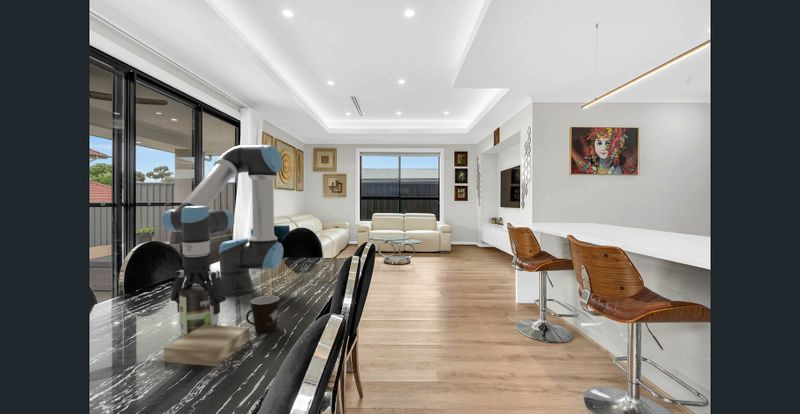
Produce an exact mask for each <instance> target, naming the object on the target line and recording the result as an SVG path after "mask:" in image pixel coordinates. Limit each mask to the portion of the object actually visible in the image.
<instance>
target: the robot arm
mask: <svg viewBox="0 0 800 414" xmlns="http://www.w3.org/2000/svg"><path fill="white" fill-rule="evenodd" d="M282 168H283V159H282V155H281V153H280V151H279V149H278V148H277V147H276V146H274V145H271V144H269V145H268V144H251V145H249V144H247V145H244V144H242V145H240V144H239V145H237V146H234V147H232V148H230V149H228V150H227V151H225V152H224V153H222V154H221V155H220V156H219V157H218V158H217V159H216V160H215V161H214V163H213V168H212V169H211V170H210V171H209V172H208V173H207V174H206V175H205V176H204V178H203V179H202V180H201V181H200V183H198V185H197V186H196V187H195V188H194V189H193V190H192V192H191V193H190V194H188V196H187V197H186V198H185V199H184V200H183V202H182V203H181V204H180V205H179V206H178V207H177V209H174V208H173V209H169V210H166V211H164V213H163V214H162V216H161V224H162V226H163V228H164V229H165V230H167V231H170V232H179V233H180V232H181V236H182V237H181V238H182V239H181V243H182V245H181V246H182V255H183V257H182V267H183V269H180V270H176V271H175V272H174V276H175V278H174V279H175V280H174V283H173V288H172V292H171V297H170V301H172V302H175V303H176V305H177V306H176V307H177V308H176V309H177V313H179V318H180V298H179V290H181V289H183V290H186V289H189V288H191V287H192V286H193V285H201V287H203V288H204V290H205V291H207V290H211V289H214V291H213V292H210V293H209V296H210V301H211V302H212V305H210V323H211V325H215V324H216V323H217V324H218V323H219V314H220V312H221V303H223V302H225V301H226V300H227V298H226V297H237V296H241V295H246V294H248V293H251V292H253V291H254V289H255V284H254V282H253V279H252V277H251V276H252V275H251V273H250V270H264V271H265V270H274V269H276V268H277V267H279V265H280V264H281V262H282V259H283V257H284V247H283V244H282V243H281V242H279V239H278V238H279V237H277V236H276V235H275V209H274V207H275V205H274V204H275V203H274V201H275V200H274V199H275V198H274V195H275V193H274V180H275V179H276V178H277V177H278V173H279V172H281V171H282ZM242 173H247V177H248V178H249V179H250V180H251V197H252V199H251V202H252V207H251V208H252V235H251V236H250V238H237V239H231V240H227V241H223V242H221V243H220V244H219V251H218V254H219V270H216V271H211V268H210V267H211V264H212V262H211V261H212V260H211V254H210V253H211V238H210V234H213V233H218V232H224V231H227V230H230V229H231V228H232V227H233V226H234V223H235V216H234V214H233V213H232V212H231V211H229V210H228V209H217V210H216V209H214V210H212V209H211V210H210V209H209V207H210V205H211V204H212V203H213V202H214V201H215V199H216V198H217V196H218V195H219V194H220V193H221V192H222V190H223V189H224V188H225V186H226V185H227V184H229V183H228V182H229V181H230V180H231V179H235V178H236V177H237V175H239V174H242ZM212 285H213V286H212Z"/></svg>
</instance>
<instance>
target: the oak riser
mask: <svg viewBox="0 0 800 414" xmlns="http://www.w3.org/2000/svg"><path fill="white" fill-rule="evenodd" d="M250 331H251V330H250V327H249V326H236V325H220V324H217V325H202V326H201V327H199V328H197V329H196V330H194V331H192V332H190V333H189V334H187V335H185V336H183V337H180V338H178V339H177V340H175V341H173V342H171V343H170V344H167V346H164V347H163V353H164V354H163V355H164V363H168V364H169V363H170V364H182V365H183V364H184V365H196V366H211V367H218V366H219V365H220V364H221V363H223V362H224V361H225V360H226V359H227V358H229V357H230V356H232V354H234V353H236V350H237V349H238V350H239V349H240V348H242V347H243V346H244V345H245V344H246V342H247V341H248V342H249V341H250V340H251V336H250V335H251V334H250ZM248 342H247V343H248ZM242 345H243V346H242ZM241 346H242V347H241ZM238 350H237V351H238Z"/></svg>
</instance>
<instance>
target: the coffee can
mask: <svg viewBox="0 0 800 414" xmlns="http://www.w3.org/2000/svg"><path fill="white" fill-rule="evenodd" d="M212 286H213V285H212ZM213 291H214V289H211V290H207V291H205V290H204V288H203V287H201V285H200V284H193V285H192V287H191V288H189V289H186V290H183V289H181V290H179V298H180V317H179V324H180V338H182V337H183V336H185V335H187V334H189V333H190V332H192V331H194V330H196V329H197V328H199V327H201V326H202V325H211V323H210V305H212V302H211V301H210V296H209V293H210V292H213ZM215 325H218V323H216V324H215Z"/></svg>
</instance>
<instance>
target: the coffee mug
mask: <svg viewBox="0 0 800 414" xmlns="http://www.w3.org/2000/svg"><path fill="white" fill-rule="evenodd" d="M250 304H251V305H250V306H251V309H250V310H249V311H247V313H246V315H245V316H246V317H245V319H246V322H247V323H248V324H249V325H251V326H252V325H253V326H254V330H255V331H254V332H255V333H256V334H258V335H266V334H270V333H273V332H275V331H276V330H277V327H278V317H279V307H280V297H279V296H277V295H273V294H272V295H270V294H269V295H261V296H257V297H254V298H253V299H251V300H250ZM251 313H252V317H253V318H252V319H253V322H252V321H251V320H249V315H250V314H251Z"/></svg>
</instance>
